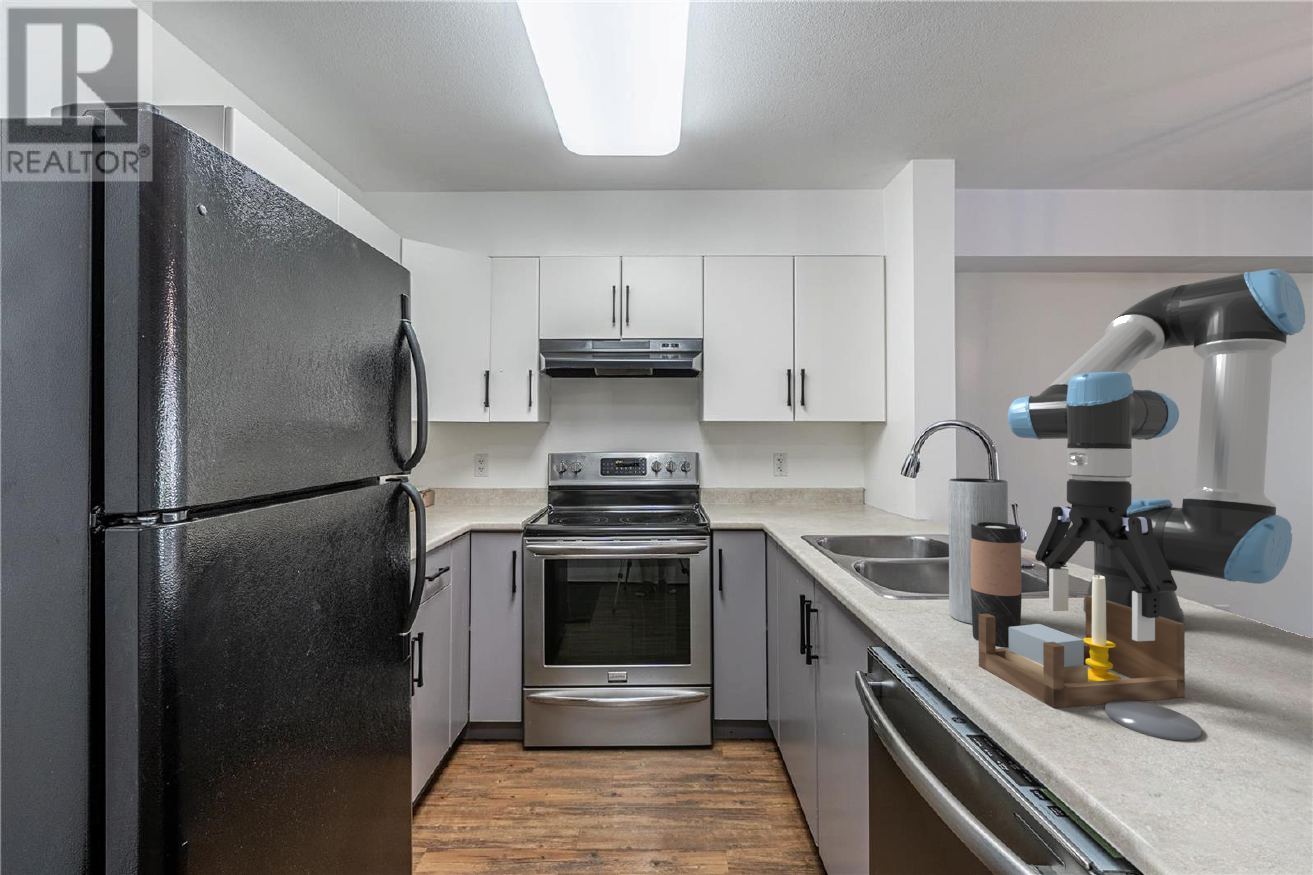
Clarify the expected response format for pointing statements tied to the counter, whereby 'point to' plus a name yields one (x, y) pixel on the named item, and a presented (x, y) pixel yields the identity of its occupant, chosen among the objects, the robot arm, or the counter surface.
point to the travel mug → (996, 577)
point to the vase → (968, 507)
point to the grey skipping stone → (1153, 720)
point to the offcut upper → (1032, 637)
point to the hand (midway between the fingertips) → (1097, 624)
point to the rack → (1144, 661)
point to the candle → (1099, 635)
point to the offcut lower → (1070, 673)
